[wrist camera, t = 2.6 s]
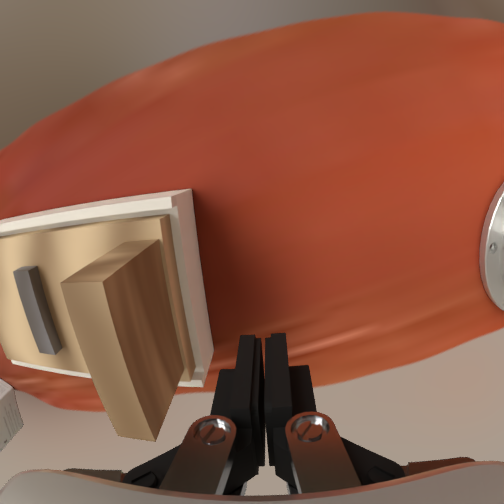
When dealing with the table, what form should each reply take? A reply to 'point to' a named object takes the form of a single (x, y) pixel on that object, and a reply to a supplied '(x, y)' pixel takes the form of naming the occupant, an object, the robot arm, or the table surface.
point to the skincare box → (8, 414)
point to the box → (184, 246)
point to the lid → (101, 313)
